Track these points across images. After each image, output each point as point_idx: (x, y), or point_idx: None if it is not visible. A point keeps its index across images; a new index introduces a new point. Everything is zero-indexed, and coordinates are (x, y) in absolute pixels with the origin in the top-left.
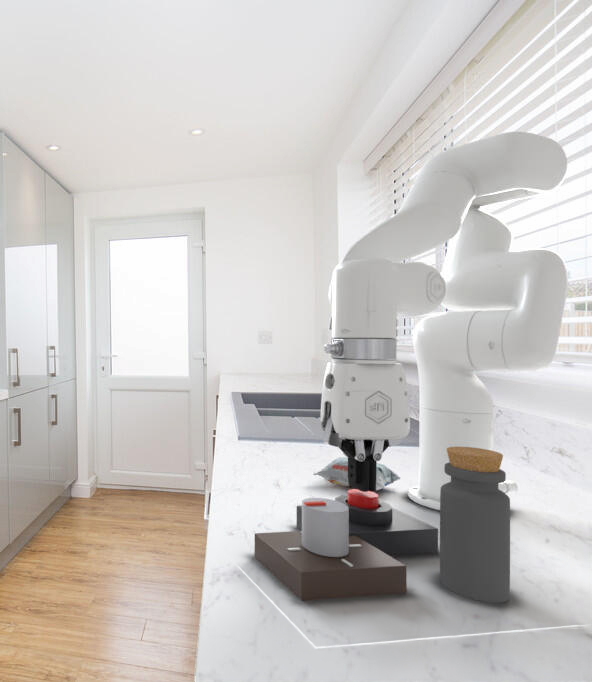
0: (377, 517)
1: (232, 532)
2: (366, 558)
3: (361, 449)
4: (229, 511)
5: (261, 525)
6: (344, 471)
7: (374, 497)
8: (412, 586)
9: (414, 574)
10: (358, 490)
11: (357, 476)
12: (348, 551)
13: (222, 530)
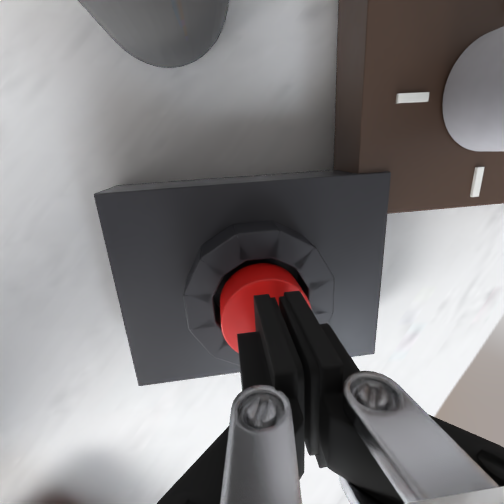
0: (267, 226)
1: (484, 301)
2: (442, 13)
3: (399, 436)
4: (427, 395)
5: (410, 333)
6: None
7: (257, 281)
8: (298, 27)
9: (250, 86)
10: None
11: (329, 336)
12: (466, 49)
13: (496, 310)
